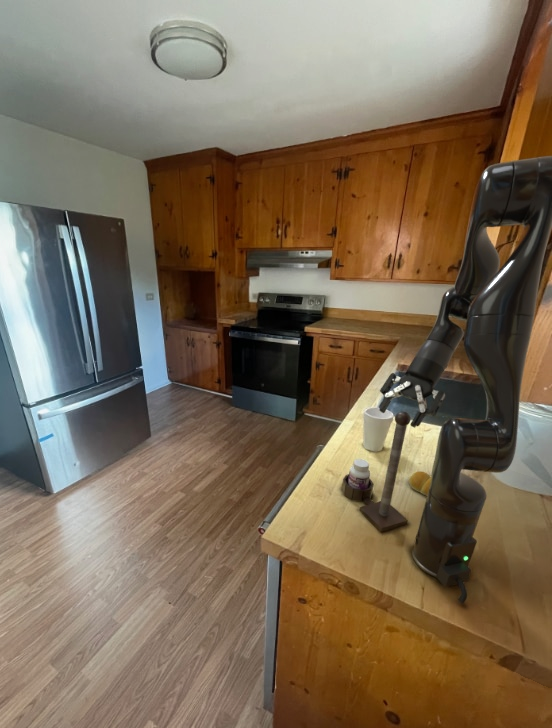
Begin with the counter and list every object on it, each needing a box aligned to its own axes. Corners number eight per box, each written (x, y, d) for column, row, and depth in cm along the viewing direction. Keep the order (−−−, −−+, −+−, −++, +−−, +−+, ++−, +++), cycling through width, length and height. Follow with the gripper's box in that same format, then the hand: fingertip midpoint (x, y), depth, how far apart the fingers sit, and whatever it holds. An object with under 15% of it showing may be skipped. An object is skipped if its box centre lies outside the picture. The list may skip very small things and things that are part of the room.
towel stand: (407, 523, 81) (433, 417, 70) (380, 532, 78) (403, 422, 67) (359, 481, 97) (374, 388, 86) (336, 486, 94) (348, 392, 83)
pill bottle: (344, 494, 91) (348, 464, 87) (349, 484, 95) (353, 455, 92) (364, 500, 88) (369, 470, 85) (368, 490, 93) (373, 460, 89)
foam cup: (353, 442, 118) (358, 409, 113) (375, 438, 121) (381, 406, 116) (369, 455, 110) (375, 420, 105) (392, 451, 112) (399, 417, 107)
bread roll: (436, 502, 88) (439, 490, 87) (403, 486, 94) (406, 474, 93) (448, 489, 93) (451, 477, 92) (416, 475, 99) (419, 464, 98)
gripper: (399, 348, 84) (367, 403, 85) (457, 366, 75) (420, 428, 75) (406, 360, 90) (376, 411, 91) (461, 377, 80) (427, 435, 81)
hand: (396, 418), depth 83 cm, fingers open, 8 cm apart
